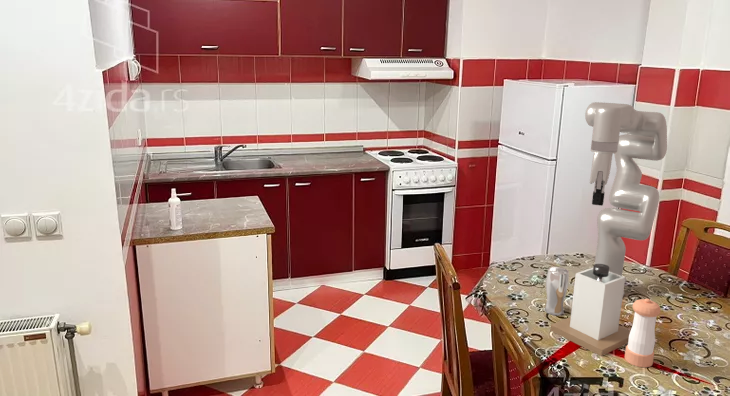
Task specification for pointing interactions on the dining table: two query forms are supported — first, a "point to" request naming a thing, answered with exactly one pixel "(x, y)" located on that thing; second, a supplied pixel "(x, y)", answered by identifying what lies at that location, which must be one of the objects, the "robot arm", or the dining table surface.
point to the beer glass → (556, 289)
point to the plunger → (600, 271)
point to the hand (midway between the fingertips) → (597, 204)
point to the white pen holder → (595, 313)
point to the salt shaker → (642, 333)
